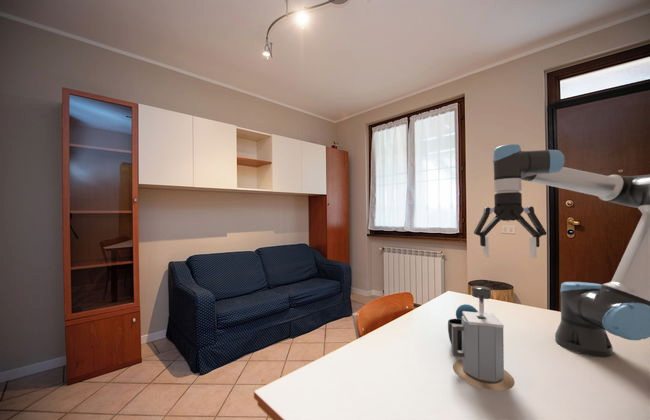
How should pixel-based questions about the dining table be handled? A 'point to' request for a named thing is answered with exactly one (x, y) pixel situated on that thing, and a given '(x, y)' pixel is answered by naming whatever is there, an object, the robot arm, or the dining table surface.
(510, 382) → the cork trivet
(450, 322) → the mug
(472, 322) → the carafe
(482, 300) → the plunger
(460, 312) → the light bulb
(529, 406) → the dining table surface
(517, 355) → the dining table surface
